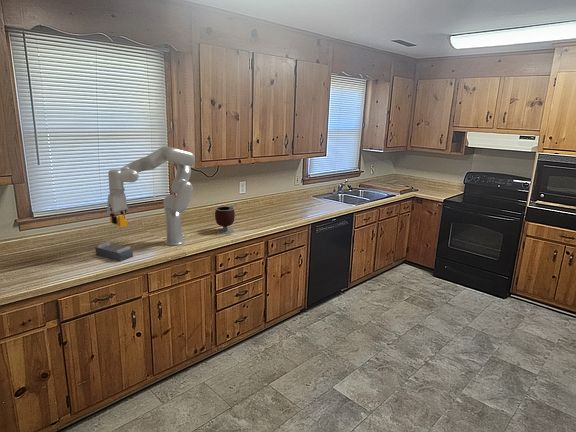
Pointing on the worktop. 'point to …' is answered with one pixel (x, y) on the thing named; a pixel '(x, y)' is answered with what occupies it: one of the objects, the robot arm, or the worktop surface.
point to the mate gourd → (225, 218)
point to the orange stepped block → (120, 221)
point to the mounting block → (114, 251)
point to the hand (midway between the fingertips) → (118, 222)
